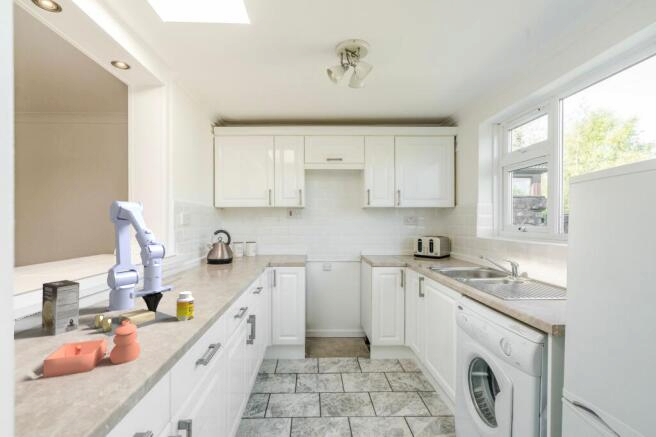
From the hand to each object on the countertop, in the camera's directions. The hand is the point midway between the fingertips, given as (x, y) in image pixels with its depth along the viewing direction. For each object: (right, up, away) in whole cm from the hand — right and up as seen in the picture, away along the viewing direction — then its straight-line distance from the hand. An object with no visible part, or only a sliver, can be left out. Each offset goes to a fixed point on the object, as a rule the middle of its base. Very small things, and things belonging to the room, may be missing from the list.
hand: (152, 313), depth 107 cm
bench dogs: (-8, -1, -13) cm, 15 cm away
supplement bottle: (+13, -2, -2) cm, 13 cm away
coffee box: (-22, -2, -13) cm, 25 cm away
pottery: (+6, -2, -33) cm, 33 cm away
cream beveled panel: (-3, -1, -4) cm, 5 cm away
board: (-4, -2, -5) cm, 6 cm away
